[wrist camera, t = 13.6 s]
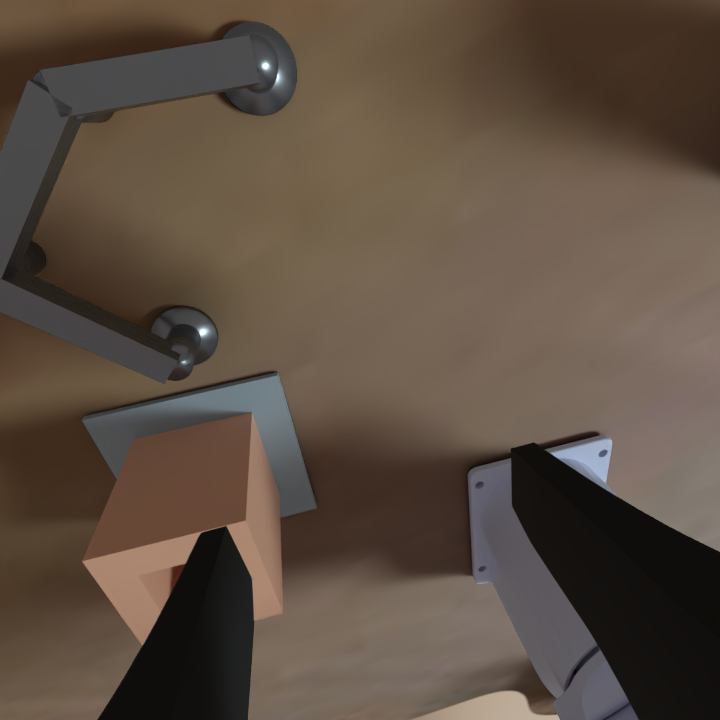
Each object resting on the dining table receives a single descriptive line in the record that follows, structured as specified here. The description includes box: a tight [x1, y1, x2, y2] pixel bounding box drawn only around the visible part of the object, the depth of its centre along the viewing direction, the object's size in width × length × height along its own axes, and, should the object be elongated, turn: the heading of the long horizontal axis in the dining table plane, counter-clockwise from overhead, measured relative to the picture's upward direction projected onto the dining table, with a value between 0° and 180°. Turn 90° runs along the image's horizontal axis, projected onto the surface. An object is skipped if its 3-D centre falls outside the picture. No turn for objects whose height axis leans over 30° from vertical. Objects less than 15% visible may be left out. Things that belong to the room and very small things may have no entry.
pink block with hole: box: [82, 412, 283, 646], centre depth 17 cm, size 5×5×6 cm
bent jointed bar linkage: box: [0, 22, 297, 384], centre depth 14 cm, size 10×11×3 cm
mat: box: [82, 372, 317, 518], centre depth 20 cm, size 8×8×1 cm
